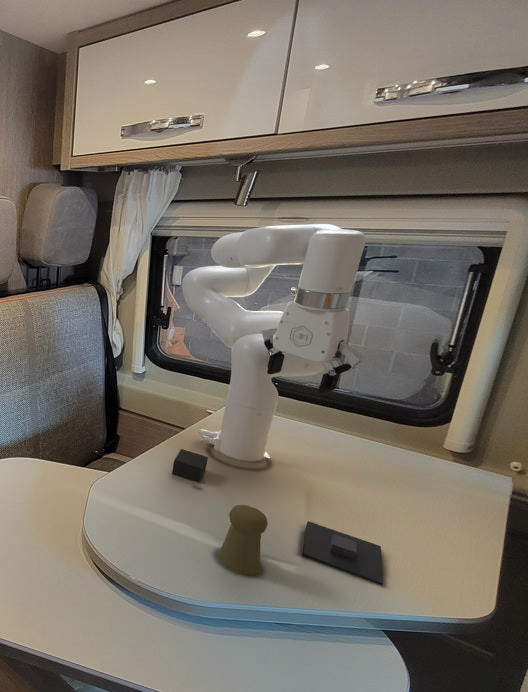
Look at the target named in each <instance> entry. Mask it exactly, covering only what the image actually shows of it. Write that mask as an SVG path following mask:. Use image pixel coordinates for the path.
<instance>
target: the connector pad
mask: <svg viewBox="0 0 528 692" xmlns="http://www.w3.org/2000/svg"><path fill="white" fill-rule="evenodd" d="M208 461H209V457H208V456H206V455H203V454H199V453H196V452H193V451H189V450H186V449H184V448H180V449H179V451H178V453H177V455H176V456H175V458H174V459H173V464H172V471H171V475H173V476H175V477H179V478H182V479H184V480H188V481H191V482H195V483H197V484H200V483H201V481H202V479H203V477H204V476H205V474H206V470H207V465H208Z"/></svg>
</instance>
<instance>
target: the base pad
mask: <svg viewBox="0 0 528 692" xmlns="http://www.w3.org/2000/svg"><path fill="white" fill-rule="evenodd" d="M301 556H302V557H304V558H306V559H309V560H311V561H314V562H318V563H320V564H322V565H325V566H328V567H330V568H333V569H337V570H339V571H342V572H344V573H346V574H347V573H348V574H350V575H353V576H355V577H357V578H358V577H359V578H361V579H363V580H367V581H369V582H372V583H374V584H377V585H380V586H382V585H383V566H382V565H383V563H382V546H381V545H379V544H376V543H373V542H370V541H367V540H364V539H361V538H359V537H357V536H352V535H349V534H347V533H344V532H341V531H338V530H335V529H332V528H329V527H326V526H324V525H320V524H318V523H314V522H312V521H309V520H308V521H307V522H306V525H305V532H304V539H303V546H302V553H301Z"/></svg>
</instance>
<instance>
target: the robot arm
mask: <svg viewBox="0 0 528 692" xmlns="http://www.w3.org/2000/svg"><path fill="white" fill-rule="evenodd" d="M366 242H367V237H366V235H365V233H363V232H362V231H360V230H354V229H346V228H345V229H343V228H342V227H339V226H338V225H335V224H332V223H331V224H330V223H311V224H309V223H308V224H307V223H306V224H305V223H304V224H303V223H302V224H282V225H268V226H262V227H255V228H248V229H246V230H244V231H240V232H233V233H229V234H226V235H224V236H222V237H220V238H219V239H217V240H216V241H215V242H214V243H213V245H212V247H211V250H210V256H211V259H212V260H213V262H214V263H215V264H217V265H208V266H207V265H206V266H201V267H196V268H194V269H192V270H189V271H188V272H187V273H186V274H185V275H184V277H183V279H182V282H181V291H182V296H183V299H184V301H185V304H186V305H187V307H188V308H189V309H190V311H191V312H192V313H193V314H194V315H195V316H196V317H198V318H199V319H200V320H202V321H203V322H204V323H205V324H206V325H207V326H208V327H209V329H210V330H211V331H212V332H213V333H214V334H215V336H216V337H217V338H218V339H219V340H220V341H221V342H222V343H223V344H224V345H225V346H226V347H228V348H230V349H231V351H230V352H231V356H230V358H231V359H230V360H231V371H230V381H229V385H228V392H227V398H226V402H225V406H224V407H225V408H224V410H223V411H224V412H223V416H222V421H221V425H220V430H219V431H213V432H212V431H210V430H207V429H202V428H200V429H199V430H198V436H197V437H201V442H205V443H209V444H211V445H213V450H214V451H218V452H219V453H221V454H222V455H224V456H227V457H229V458H231V459H235V460H238V461H241V462H242V461H243V462H250V463H254V462H260V461H262V460H263V459H264V458H268V459H271V456H270V455H269V453H268V452H267V451H266V450H267V446H268V442H269V437H270V433H271V429H272V426H273V421H274V419H275V414H276V410H277V406H278V402H279V391H278V389H277V387H276V386H275V385H274V383H273V382H272V379H273V378H275V377H276V378H277V377H308V376H314V375H318V374H319V373H321V372H323V371H324V370H325V371H326V372H325V373H323V374H322V377H321V380H320V383H319V387H318V390H317V391H318V393H319V394H322V395H323V394H328V393H331V392H332V391H334V390H335V389H336V388H337V385H338V382H339V379H340V375H341V374H343V373H346V372H348V371H351V370H353V369H355V368H356V367H357V366H358V365H359V364H361V363H362V362H363V361H364V360H365V357H364V356H363V355H362V354H361V353H360V352H358V351H357V350H356V349H354V348H353V347H352V346H350V345H349V344H348V343H347V341H348V336H349V329H350V320H351V319H350V318H351V317H350V315H351V313H350V309H349V308H347V306H348V303H349V300H350V296H351V293H352V289H353V286H354V282H355V279H356V277H357V272H358V270H359V267H360V262H361V259H362V255H363V252H364V249H365V245H366ZM280 265H302V269H301V273H300V278H299V282H298V285H297V286H292V287H291V288H290V290H289V293H290V295H291V294H292V295H294V297H293V299H294V300H290V301H289V302H288V303H287V305H286V307H285V309H284V310H283V311H279V310H247V309H245V308H243V307H242V306H241V305H240V304H239V303H238V302H237V301H235V300H234V299H232V298H243V297H248V296H251V295H252V294H254V293H255V292H256V291H257V290H258V289H259V288H260V286H261V285H262V284H263V283H264V281H265V280H266V279H267V278H268V277H269V275H270V273H272V271H273V270H274V269H275V267H276V266H280ZM343 355H344V357H346V358H347V360H346V361H345V362H344V363H342V362H341V360H340V359H341V358H342V356H343Z"/></svg>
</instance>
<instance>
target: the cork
mask: <svg viewBox="0 0 528 692" xmlns="http://www.w3.org/2000/svg"><path fill="white" fill-rule="evenodd" d="M228 519H229V522H230V526H229V528H228V531H227V533H226V536H225V538H224V541H223V542H222V545H221V548H220V550H219V552H218V554H217V555H218V560H219V561H220V563H221V564H222V565H223V566H224V567H226V568H227V569H229V570H230V571H232V572H234V573H236V574H239V575H240V574H241V575H244V576H256V575H257V574H259V572H260V569H261V568H260V567H261V546H262V545H261V544H262V534H263V533H265V531H266V530H267V528H268V524H269V523H268V518H267V516H266V515H265V514H264V512H263V511H261V510H260V509H258V508H256V507H254V506H251V505H248V504H238V505H234V506H232V507H231V509H230V510H229V514H228Z"/></svg>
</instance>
